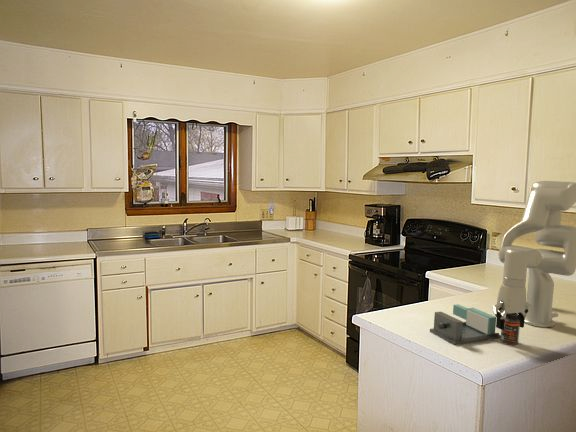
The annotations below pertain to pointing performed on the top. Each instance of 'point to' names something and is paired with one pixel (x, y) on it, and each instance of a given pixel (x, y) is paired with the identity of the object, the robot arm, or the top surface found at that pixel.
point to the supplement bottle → (511, 329)
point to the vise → (458, 330)
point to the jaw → (476, 319)
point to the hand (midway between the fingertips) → (509, 327)
